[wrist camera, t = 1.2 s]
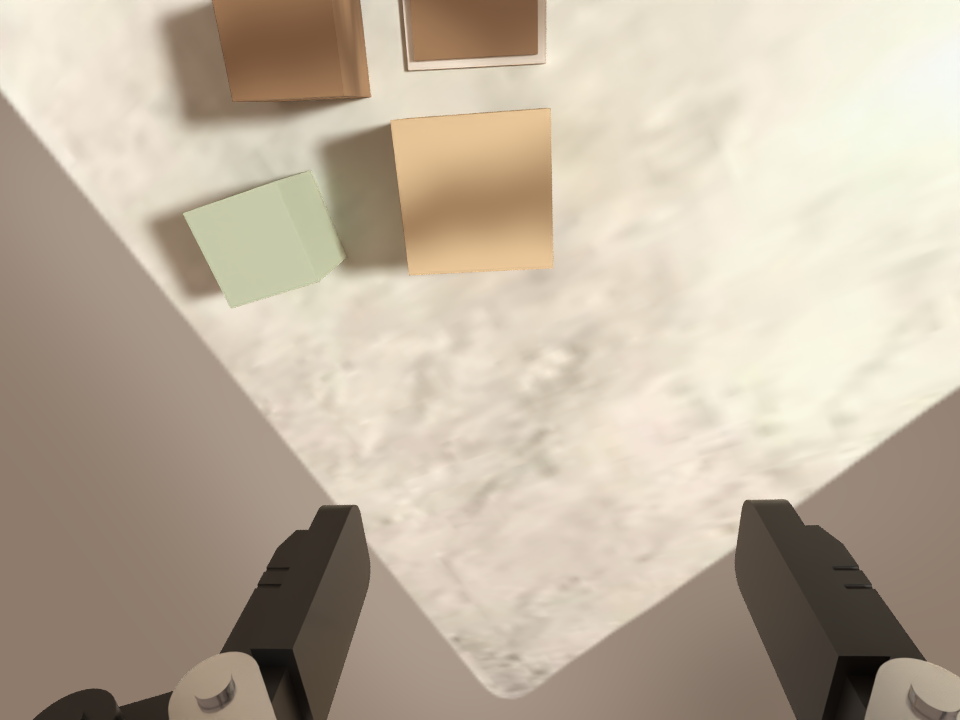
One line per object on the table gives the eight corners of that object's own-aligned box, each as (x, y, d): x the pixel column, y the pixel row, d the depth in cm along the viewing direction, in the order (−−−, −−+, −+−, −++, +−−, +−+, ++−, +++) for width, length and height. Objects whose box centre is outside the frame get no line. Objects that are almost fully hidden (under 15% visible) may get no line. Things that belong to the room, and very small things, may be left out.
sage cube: (230, 197, 32) (182, 213, 27) (311, 170, 31) (275, 181, 26) (269, 281, 34) (230, 308, 29) (347, 257, 33) (319, 281, 28)
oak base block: (410, 118, 30) (390, 120, 25) (546, 107, 29) (550, 108, 25) (424, 251, 33) (409, 275, 28) (548, 244, 32) (553, 268, 27)
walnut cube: (257, -12, 28) (205, -35, 23) (358, -19, 27) (325, -43, 23) (276, 101, 30) (232, 101, 25) (371, 96, 29) (344, 95, 25)
